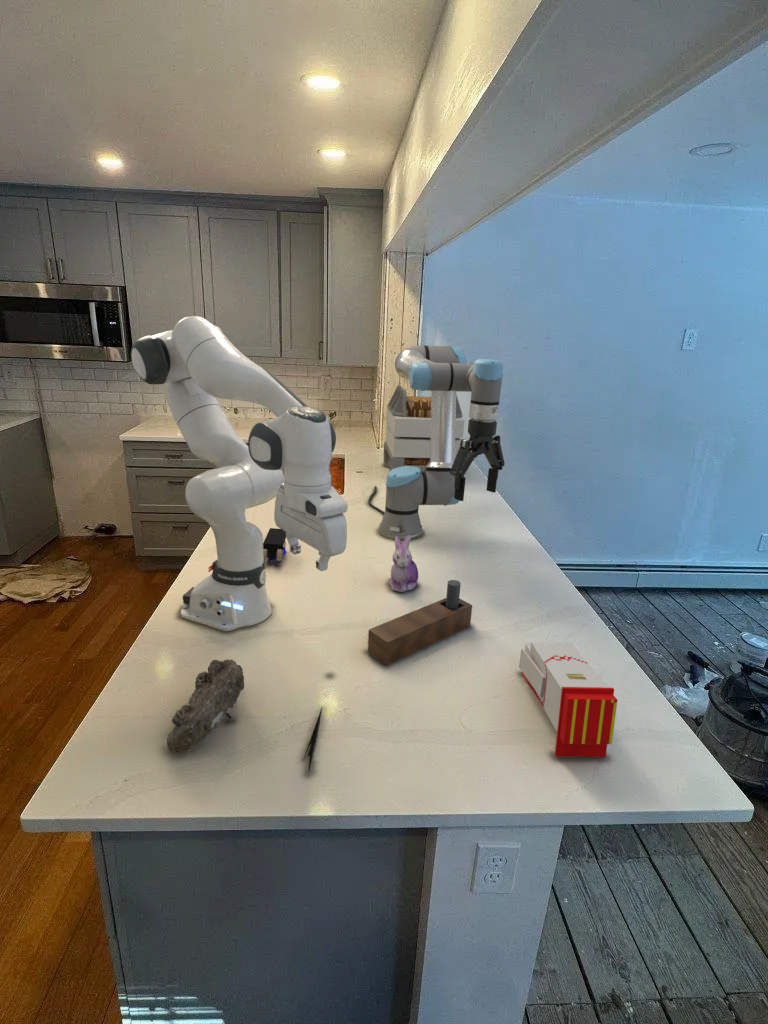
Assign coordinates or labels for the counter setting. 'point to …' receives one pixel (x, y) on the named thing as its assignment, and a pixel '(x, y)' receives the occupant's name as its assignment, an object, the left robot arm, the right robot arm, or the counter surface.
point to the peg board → (417, 630)
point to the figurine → (403, 567)
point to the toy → (570, 698)
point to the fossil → (206, 705)
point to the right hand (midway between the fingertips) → (475, 495)
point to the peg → (453, 594)
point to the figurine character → (274, 545)
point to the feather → (313, 740)
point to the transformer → (412, 430)
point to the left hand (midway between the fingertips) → (308, 560)
